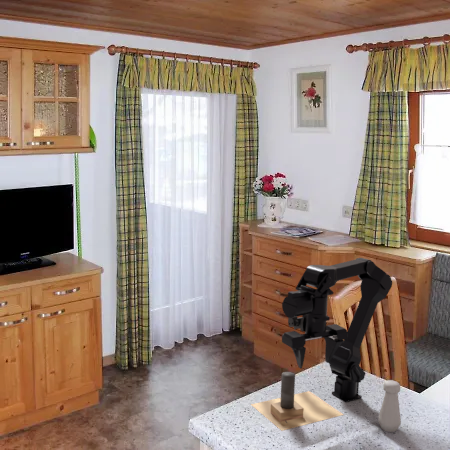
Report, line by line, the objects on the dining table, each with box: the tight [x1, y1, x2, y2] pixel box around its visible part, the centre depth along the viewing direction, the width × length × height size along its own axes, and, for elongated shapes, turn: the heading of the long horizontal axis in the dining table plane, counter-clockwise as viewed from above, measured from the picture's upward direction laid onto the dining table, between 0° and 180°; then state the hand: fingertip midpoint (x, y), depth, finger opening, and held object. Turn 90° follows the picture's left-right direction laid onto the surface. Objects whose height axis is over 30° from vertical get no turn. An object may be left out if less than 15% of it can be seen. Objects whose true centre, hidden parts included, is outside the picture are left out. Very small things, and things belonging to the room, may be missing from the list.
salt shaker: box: [378, 379, 402, 433], centre depth 153 cm, size 6×6×13 cm
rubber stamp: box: [271, 371, 304, 422], centre depth 157 cm, size 7×6×12 cm
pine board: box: [250, 391, 345, 432], centre depth 161 cm, size 20×16×2 cm
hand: (313, 365), depth 163 cm, fingers open, 9 cm apart
